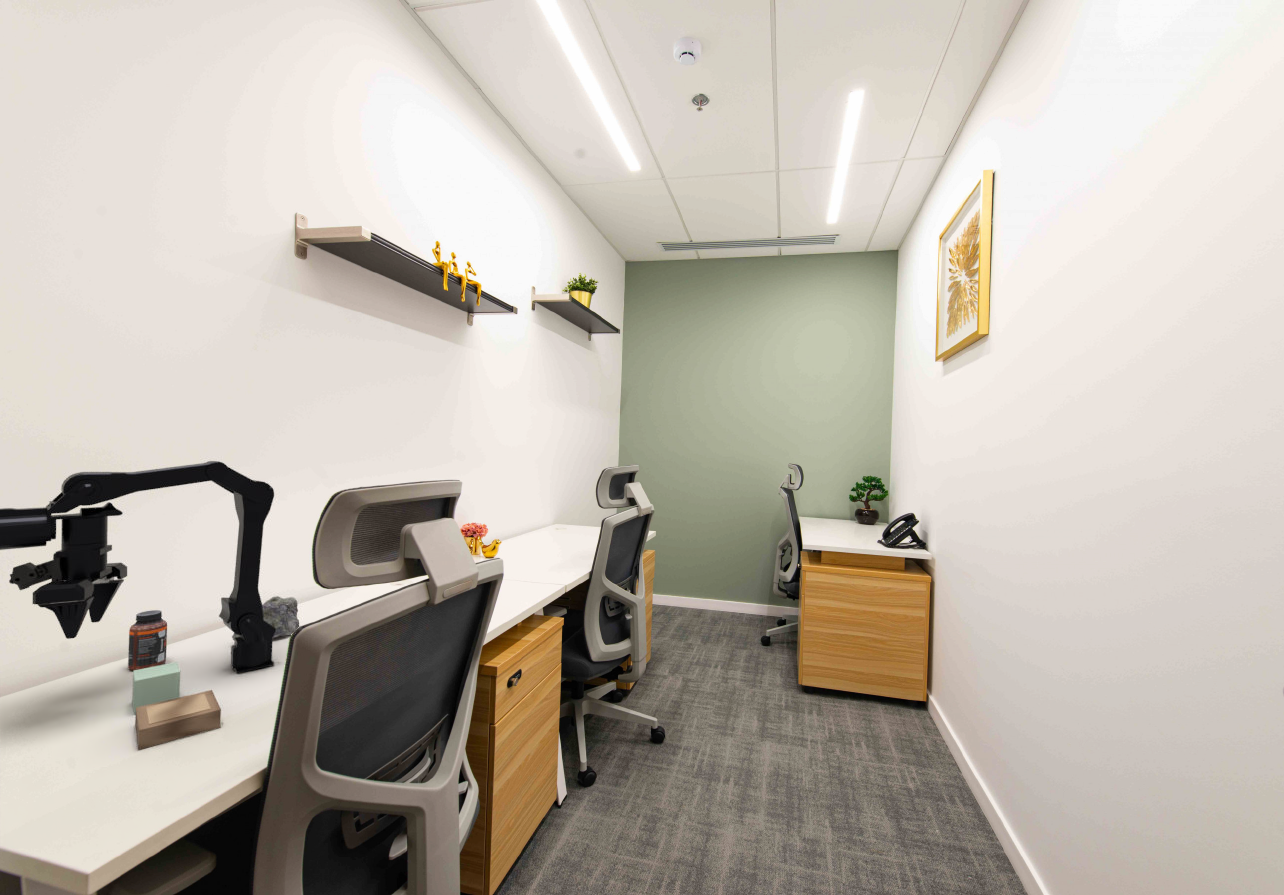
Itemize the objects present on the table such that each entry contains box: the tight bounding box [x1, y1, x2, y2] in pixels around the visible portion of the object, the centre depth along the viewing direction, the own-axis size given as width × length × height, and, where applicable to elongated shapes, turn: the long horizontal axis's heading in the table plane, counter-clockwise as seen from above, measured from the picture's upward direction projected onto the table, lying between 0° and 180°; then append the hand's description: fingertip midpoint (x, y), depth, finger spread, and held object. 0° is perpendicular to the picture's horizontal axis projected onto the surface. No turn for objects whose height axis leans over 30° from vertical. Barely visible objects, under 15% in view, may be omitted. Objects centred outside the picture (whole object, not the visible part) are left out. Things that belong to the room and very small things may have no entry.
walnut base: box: [134, 689, 222, 751], centre depth 90 cm, size 10×10×3 cm
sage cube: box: [131, 661, 181, 716], centre depth 97 cm, size 6×6×6 cm
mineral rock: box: [231, 596, 300, 642], centre depth 132 cm, size 13×11×10 cm
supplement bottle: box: [127, 609, 168, 671], centre depth 114 cm, size 6×6×11 cm
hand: (83, 629), depth 96 cm, fingers open, 9 cm apart
